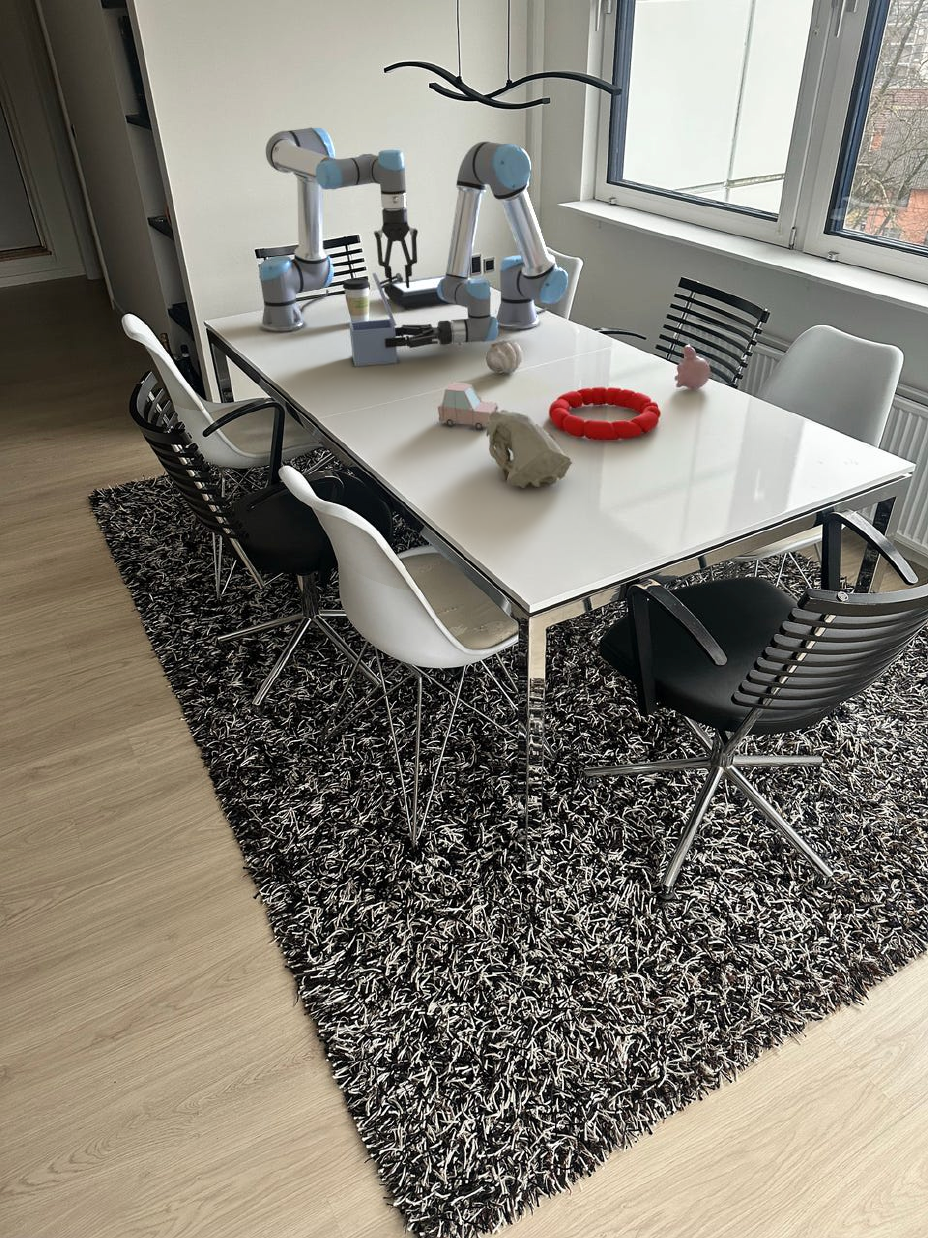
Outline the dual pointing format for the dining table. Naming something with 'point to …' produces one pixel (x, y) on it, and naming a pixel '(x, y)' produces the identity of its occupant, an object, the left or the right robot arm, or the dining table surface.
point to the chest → (372, 342)
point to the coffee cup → (357, 298)
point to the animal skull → (525, 450)
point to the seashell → (504, 356)
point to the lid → (399, 279)
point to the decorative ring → (604, 428)
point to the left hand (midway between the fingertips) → (399, 287)
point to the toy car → (465, 406)
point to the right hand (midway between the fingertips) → (383, 338)
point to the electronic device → (416, 293)
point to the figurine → (692, 370)
